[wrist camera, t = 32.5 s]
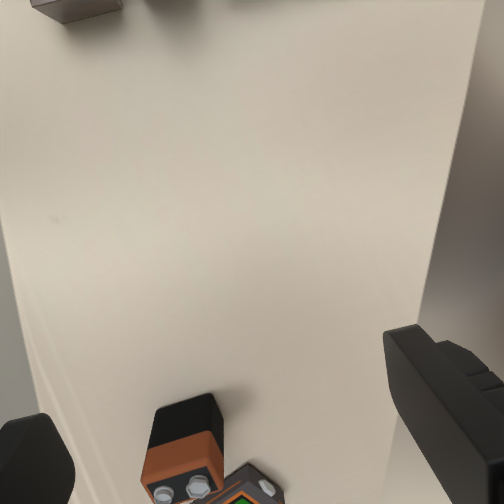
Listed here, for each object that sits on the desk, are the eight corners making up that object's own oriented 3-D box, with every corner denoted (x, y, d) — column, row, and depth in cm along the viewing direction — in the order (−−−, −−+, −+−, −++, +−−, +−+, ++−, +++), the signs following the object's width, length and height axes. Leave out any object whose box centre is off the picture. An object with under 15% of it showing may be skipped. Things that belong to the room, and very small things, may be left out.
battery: (224, 419, 44) (225, 500, 35) (169, 436, 45) (155, 522, 35) (211, 390, 43) (208, 467, 33) (154, 408, 43) (135, 490, 34)
